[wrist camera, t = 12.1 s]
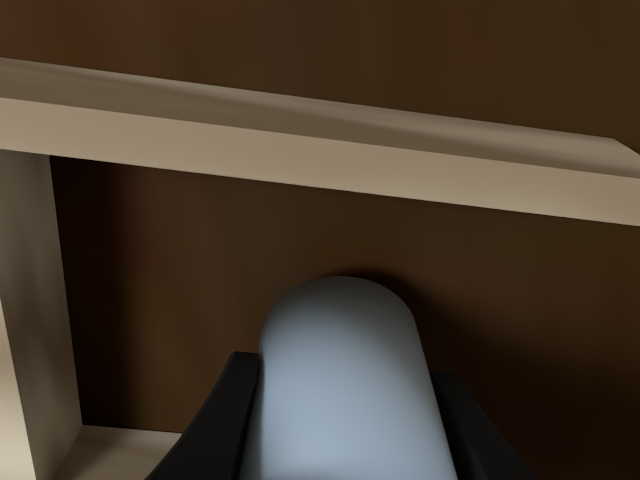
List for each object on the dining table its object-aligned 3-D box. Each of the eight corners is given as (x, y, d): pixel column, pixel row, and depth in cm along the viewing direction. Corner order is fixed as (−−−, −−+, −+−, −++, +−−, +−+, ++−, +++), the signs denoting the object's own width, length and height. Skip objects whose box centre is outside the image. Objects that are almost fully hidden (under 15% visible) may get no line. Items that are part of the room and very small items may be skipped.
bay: (425, 588, 23) (439, 671, 20) (75, 564, 22) (42, 649, 19) (612, 138, 13) (688, 184, 10) (-7, 56, 12) (-99, 84, 9)
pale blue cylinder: (399, 405, 16) (436, 604, 11) (254, 392, 15) (227, 590, 11) (433, 285, 14) (497, 464, 9) (267, 267, 13) (238, 442, 9)
